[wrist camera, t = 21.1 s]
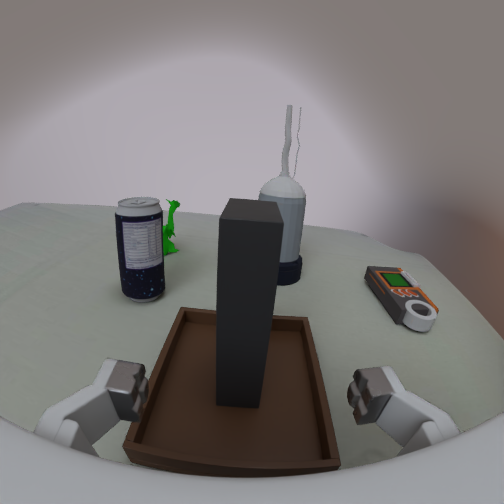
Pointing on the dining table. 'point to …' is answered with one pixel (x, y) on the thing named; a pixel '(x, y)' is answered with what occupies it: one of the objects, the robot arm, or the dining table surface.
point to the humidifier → (288, 212)
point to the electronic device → (402, 297)
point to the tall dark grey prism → (245, 298)
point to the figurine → (169, 229)
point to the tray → (235, 408)
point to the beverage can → (140, 248)
